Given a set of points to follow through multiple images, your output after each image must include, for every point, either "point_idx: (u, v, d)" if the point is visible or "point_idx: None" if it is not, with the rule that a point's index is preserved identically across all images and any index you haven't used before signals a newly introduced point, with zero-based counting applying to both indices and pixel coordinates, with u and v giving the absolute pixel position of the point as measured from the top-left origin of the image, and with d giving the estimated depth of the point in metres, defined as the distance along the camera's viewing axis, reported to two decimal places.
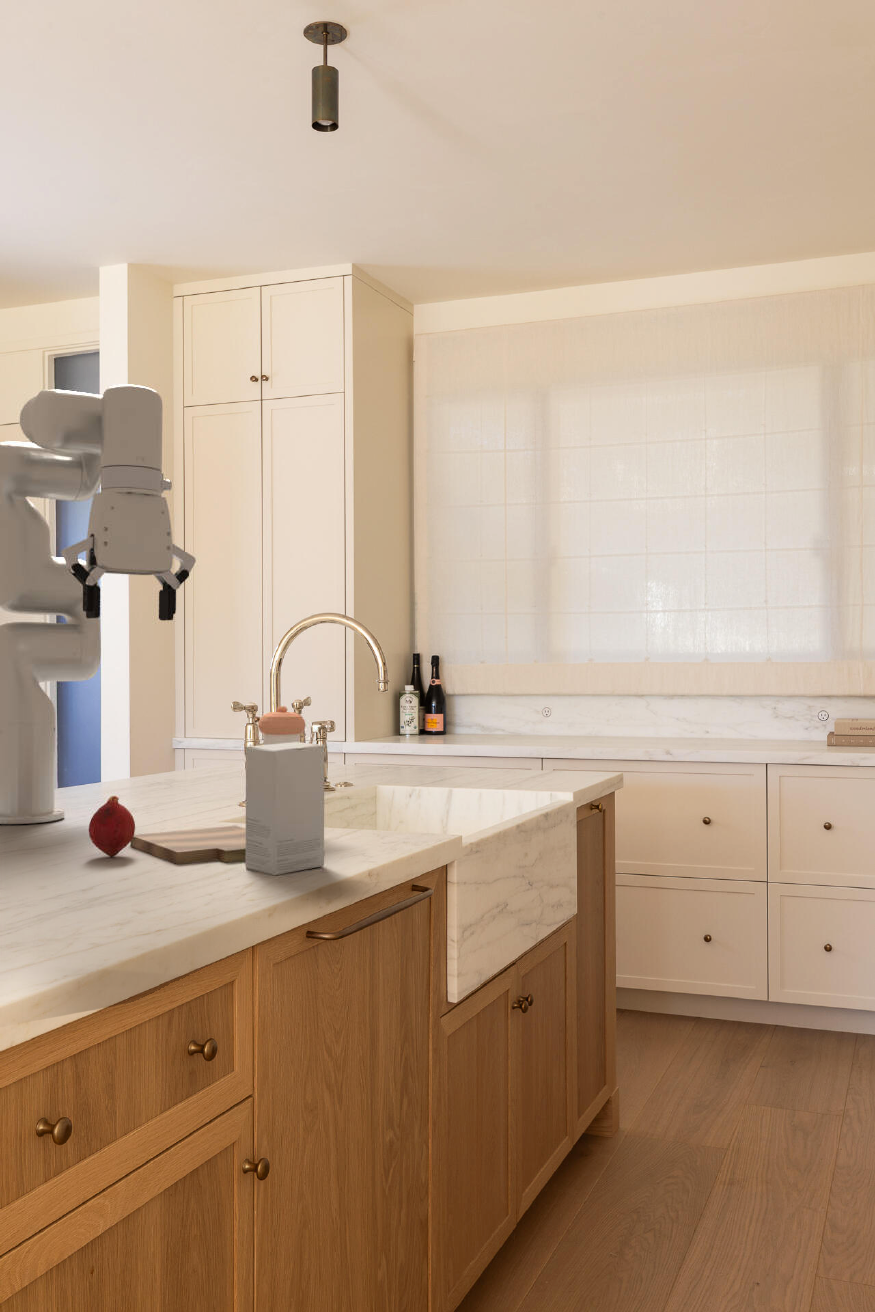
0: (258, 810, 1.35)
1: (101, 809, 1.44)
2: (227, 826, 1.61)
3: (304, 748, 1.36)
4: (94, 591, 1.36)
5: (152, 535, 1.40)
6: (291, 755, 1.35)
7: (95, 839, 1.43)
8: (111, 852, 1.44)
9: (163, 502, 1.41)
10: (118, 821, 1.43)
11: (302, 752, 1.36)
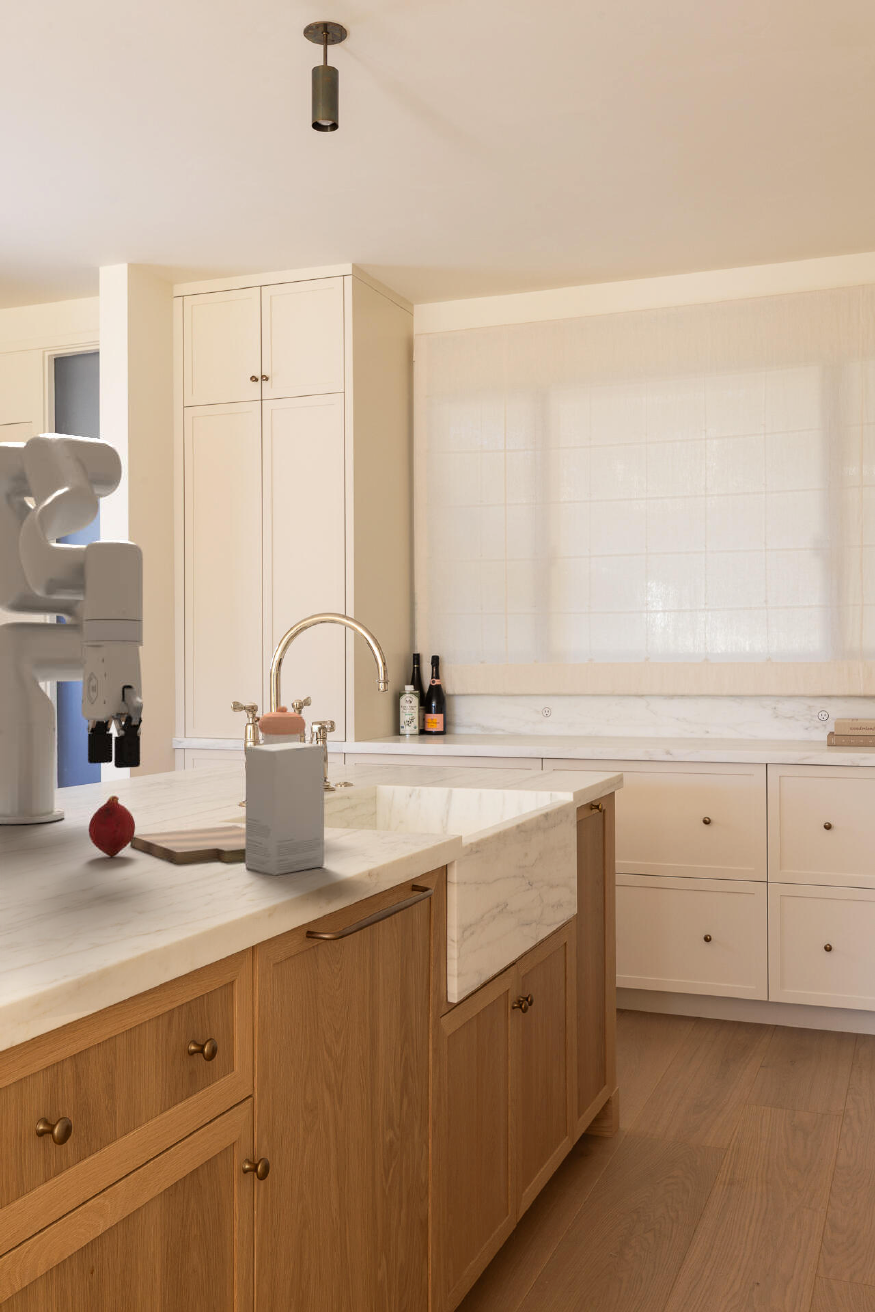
0: (258, 810, 1.35)
1: (101, 809, 1.44)
2: (227, 826, 1.61)
3: (304, 748, 1.36)
4: (138, 741, 1.41)
5: None
6: (291, 755, 1.35)
7: (95, 839, 1.43)
8: (111, 852, 1.44)
9: None
10: (118, 821, 1.43)
11: (302, 752, 1.36)
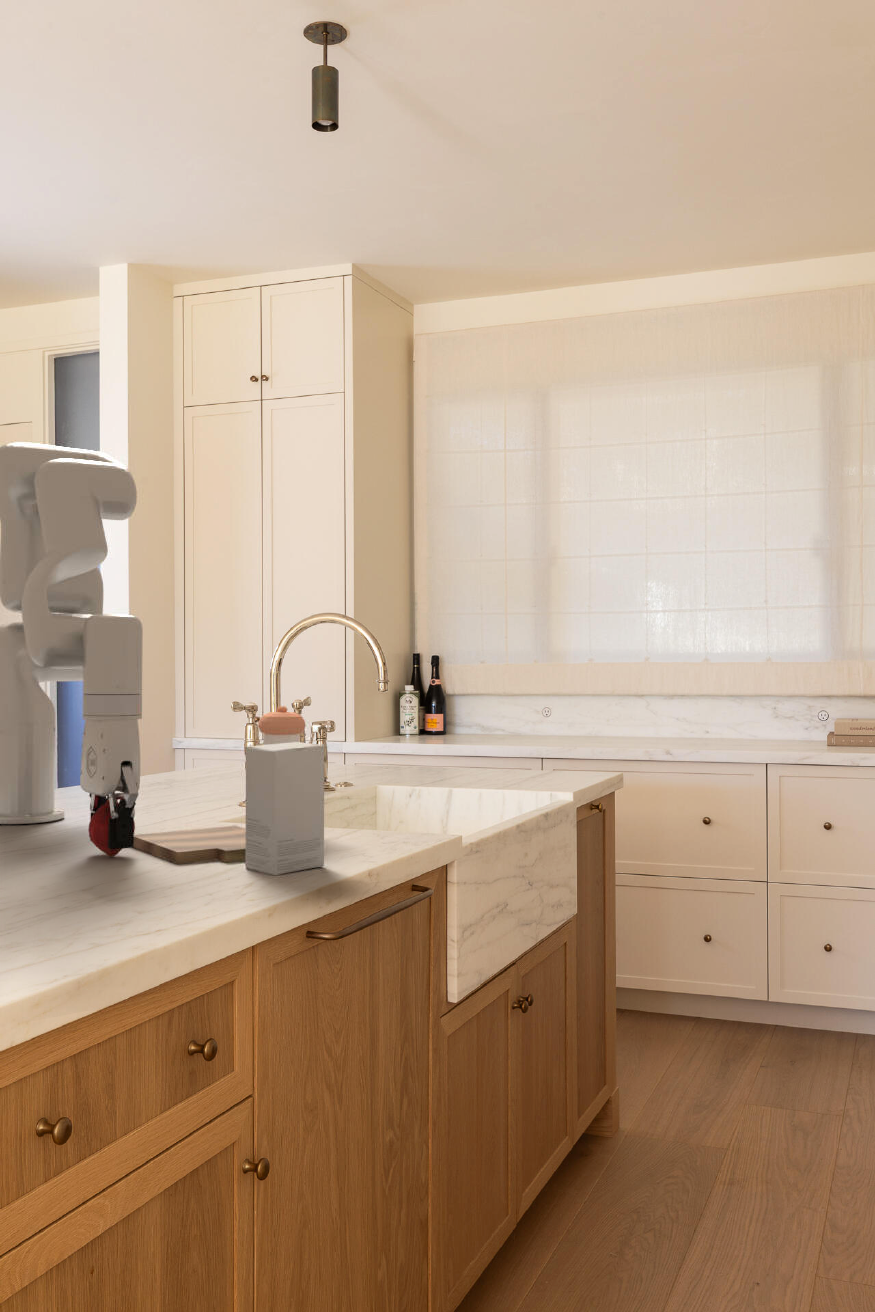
0: (258, 810, 1.35)
1: (101, 809, 1.44)
2: (227, 826, 1.61)
3: (304, 748, 1.36)
4: (132, 822, 1.43)
5: None
6: (291, 755, 1.35)
7: (95, 839, 1.43)
8: (111, 852, 1.44)
9: None
10: None
11: (302, 752, 1.36)
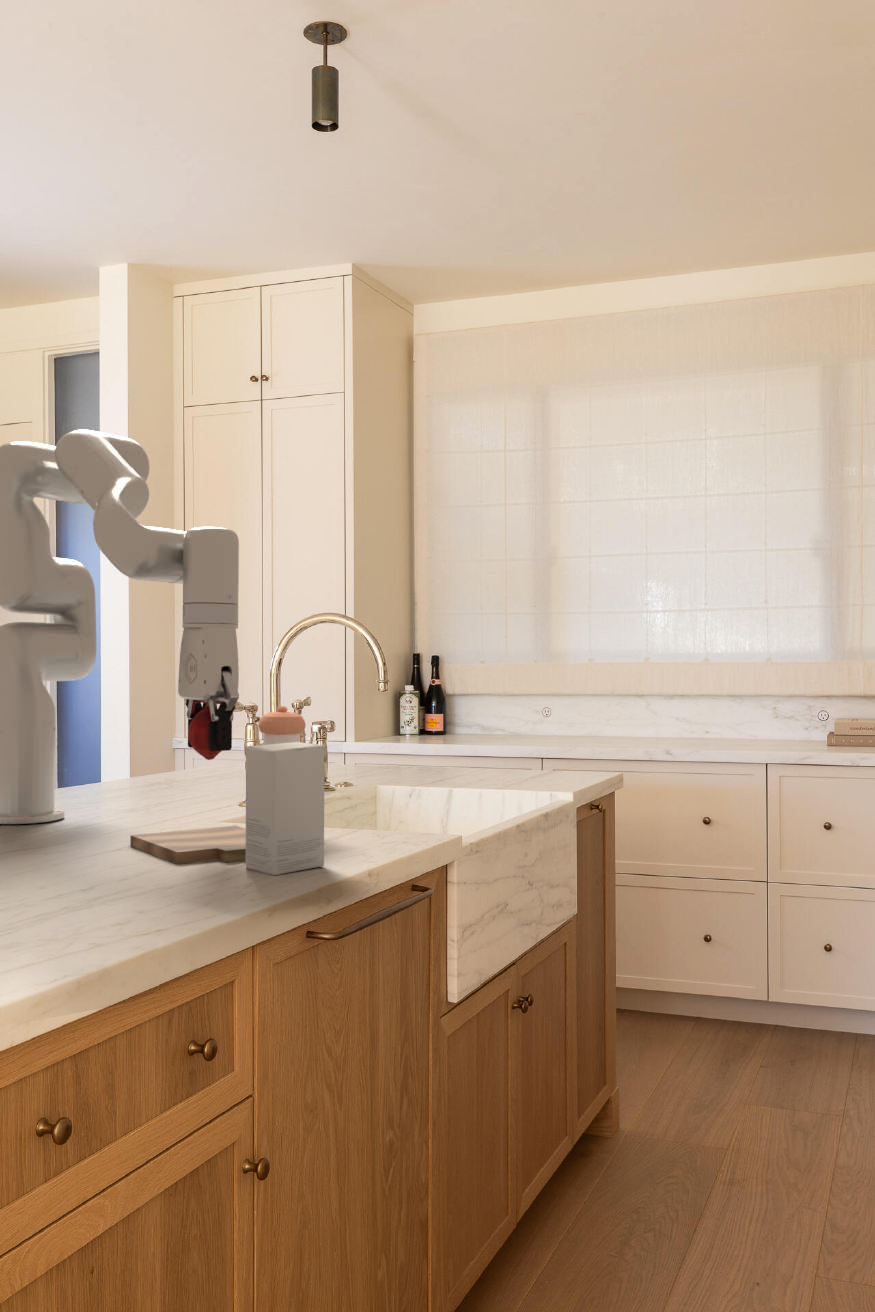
0: (258, 810, 1.35)
1: (200, 713, 1.50)
2: (227, 826, 1.61)
3: (304, 748, 1.36)
4: (230, 726, 1.49)
5: None
6: (291, 755, 1.35)
7: (195, 742, 1.49)
8: (209, 755, 1.50)
9: None
10: None
11: (302, 752, 1.36)
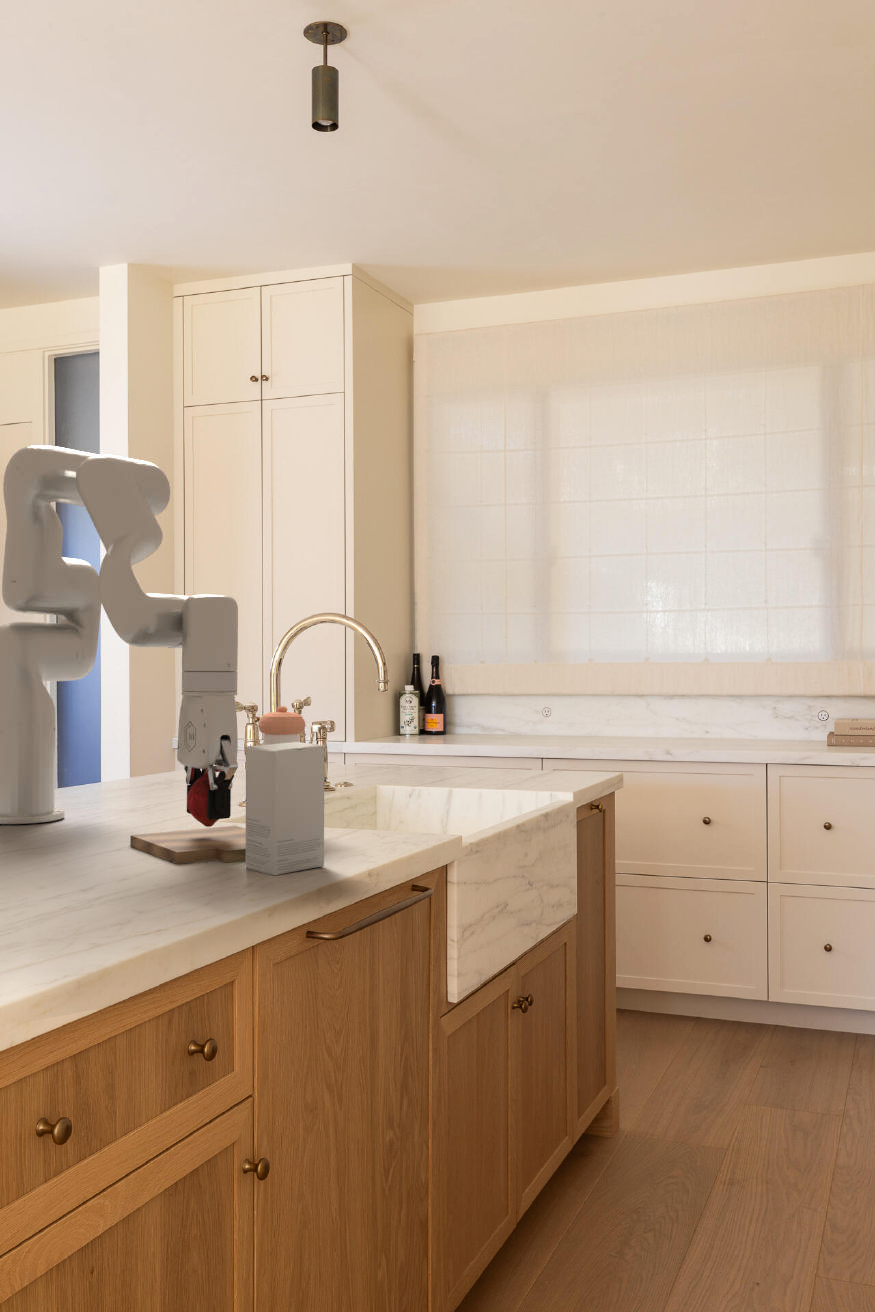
0: (258, 810, 1.35)
1: (199, 781, 1.50)
2: (227, 826, 1.61)
3: (304, 748, 1.36)
4: (229, 794, 1.49)
5: None
6: (291, 755, 1.35)
7: (194, 810, 1.49)
8: (208, 822, 1.50)
9: None
10: None
11: (302, 752, 1.36)
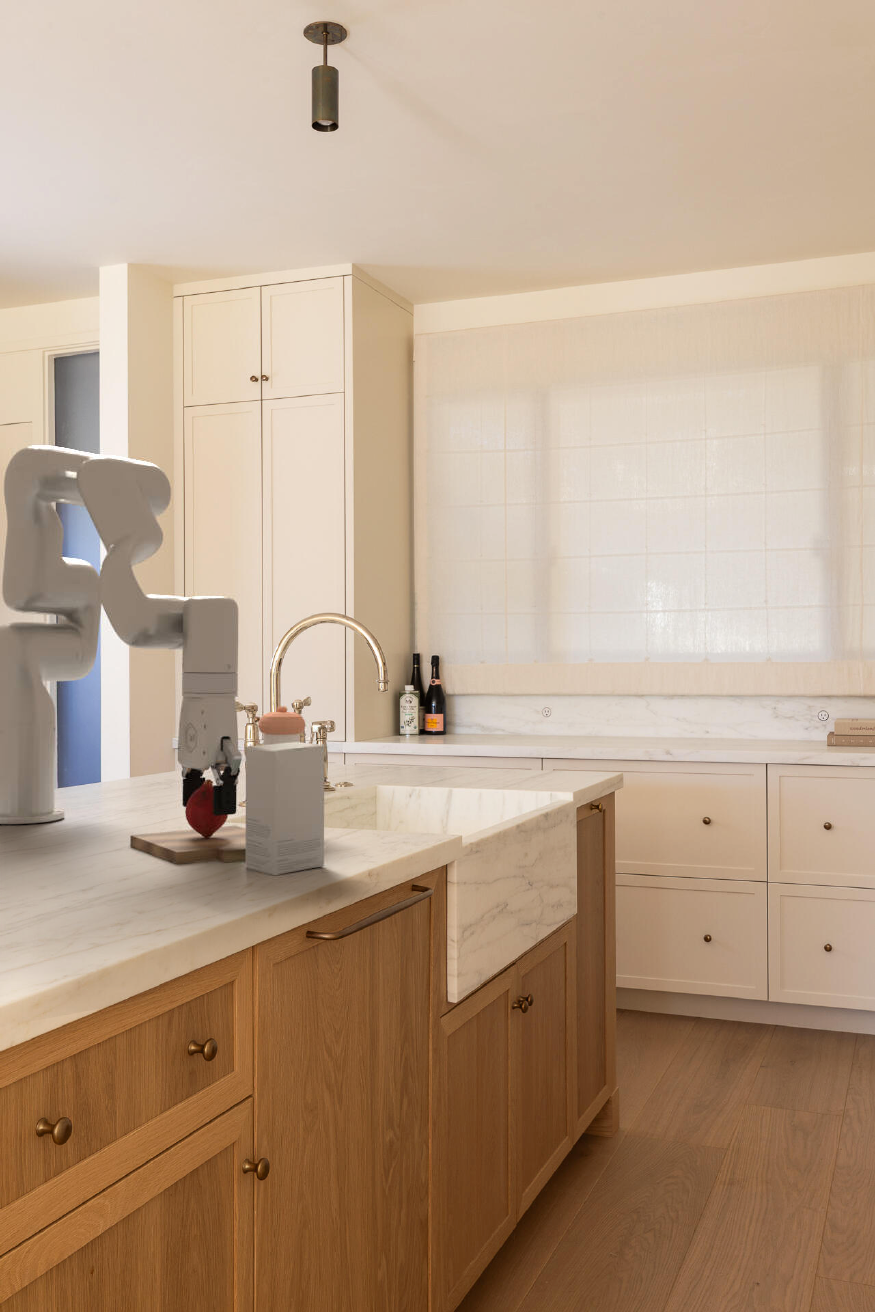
0: (258, 810, 1.35)
1: (197, 792, 1.50)
2: (227, 826, 1.61)
3: (304, 748, 1.36)
4: (235, 789, 1.48)
5: None
6: (291, 755, 1.35)
7: (192, 821, 1.49)
8: (207, 833, 1.50)
9: None
10: None
11: (302, 752, 1.36)
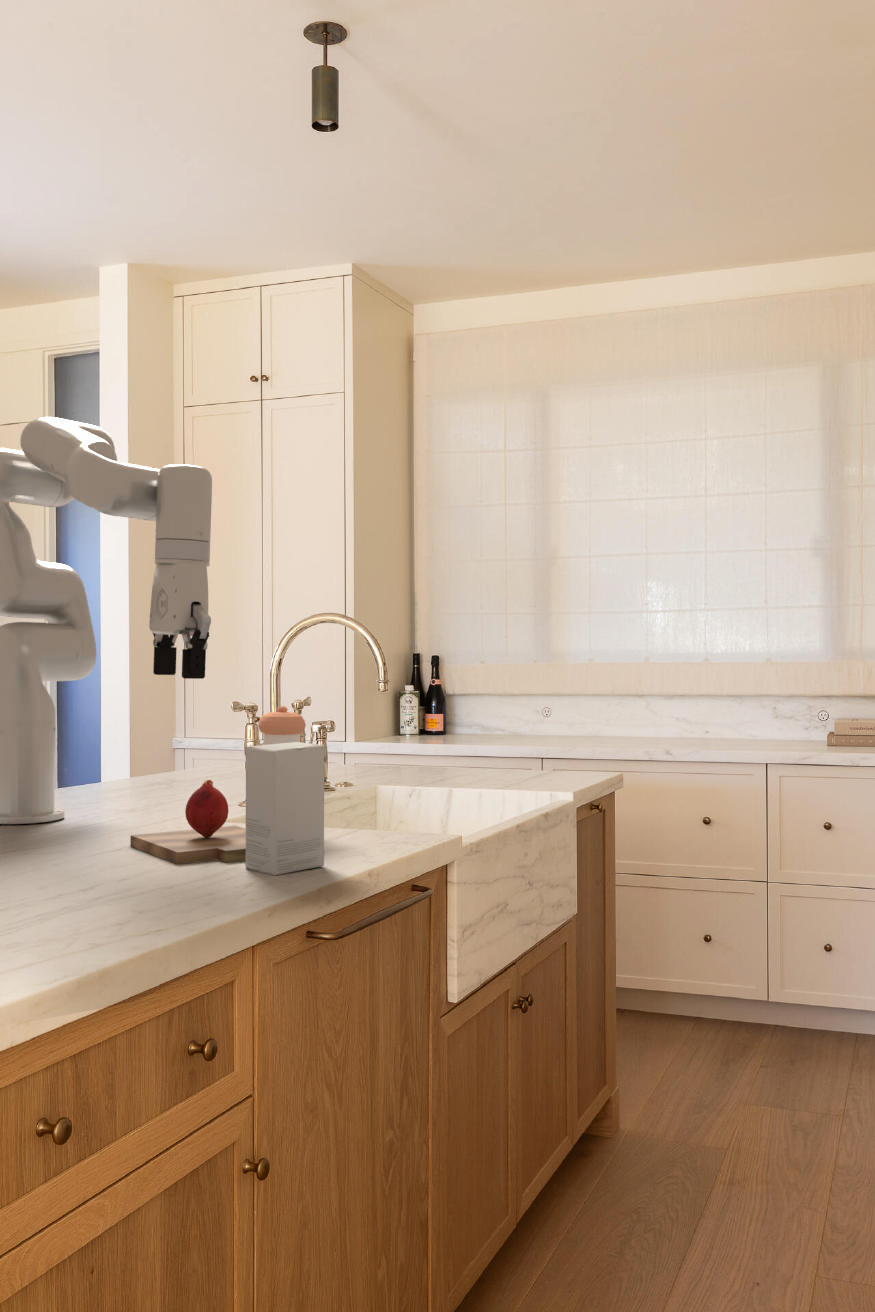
0: (258, 810, 1.35)
1: (197, 792, 1.50)
2: (227, 826, 1.61)
3: (304, 748, 1.36)
4: (204, 654, 1.51)
5: None
6: (291, 755, 1.35)
7: (192, 821, 1.49)
8: (207, 833, 1.50)
9: None
10: (214, 803, 1.49)
11: (302, 752, 1.36)
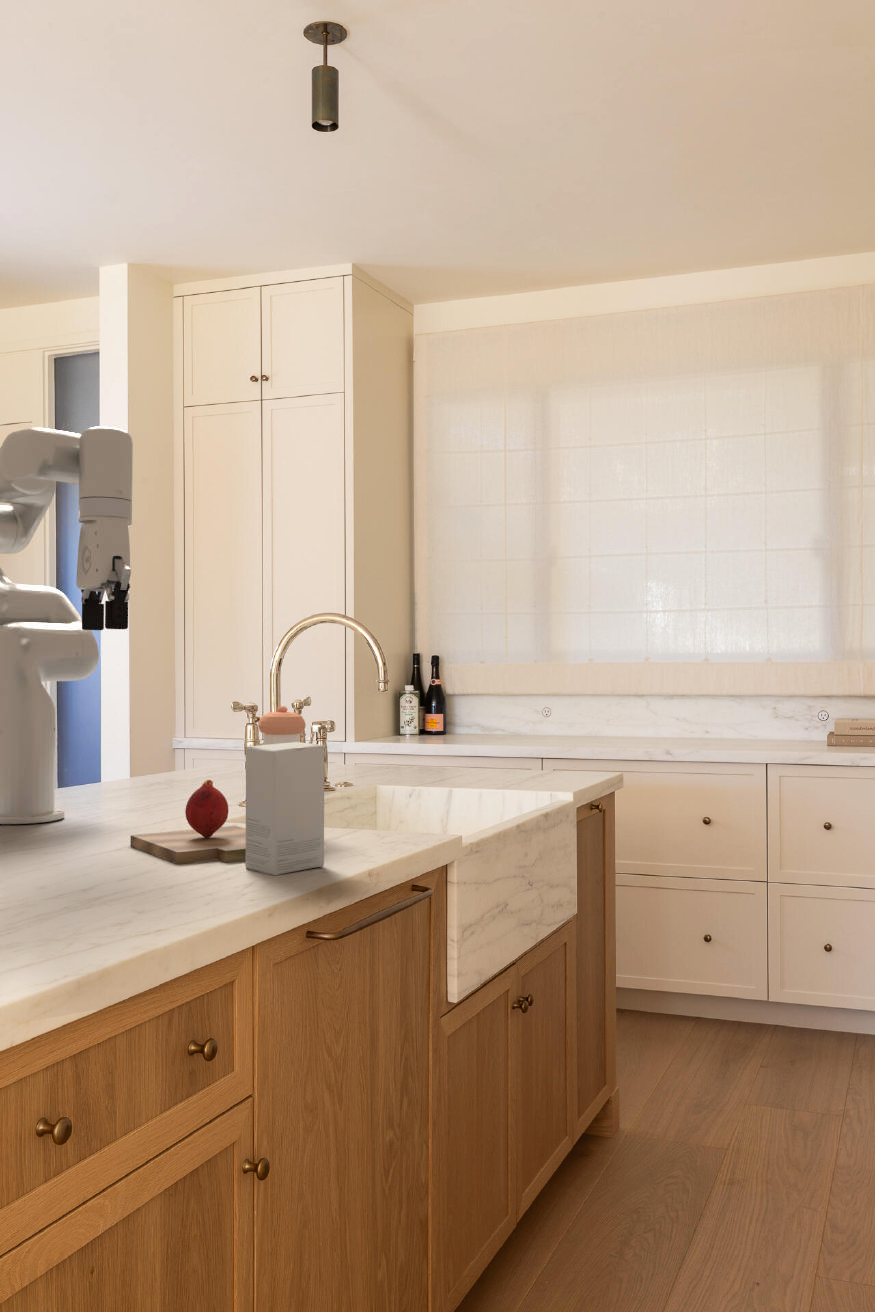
0: (258, 810, 1.35)
1: (197, 792, 1.50)
2: (227, 826, 1.61)
3: (304, 748, 1.36)
4: (127, 606, 1.58)
5: None
6: (291, 755, 1.35)
7: (192, 821, 1.49)
8: (207, 833, 1.50)
9: None
10: (214, 803, 1.49)
11: (302, 752, 1.36)
